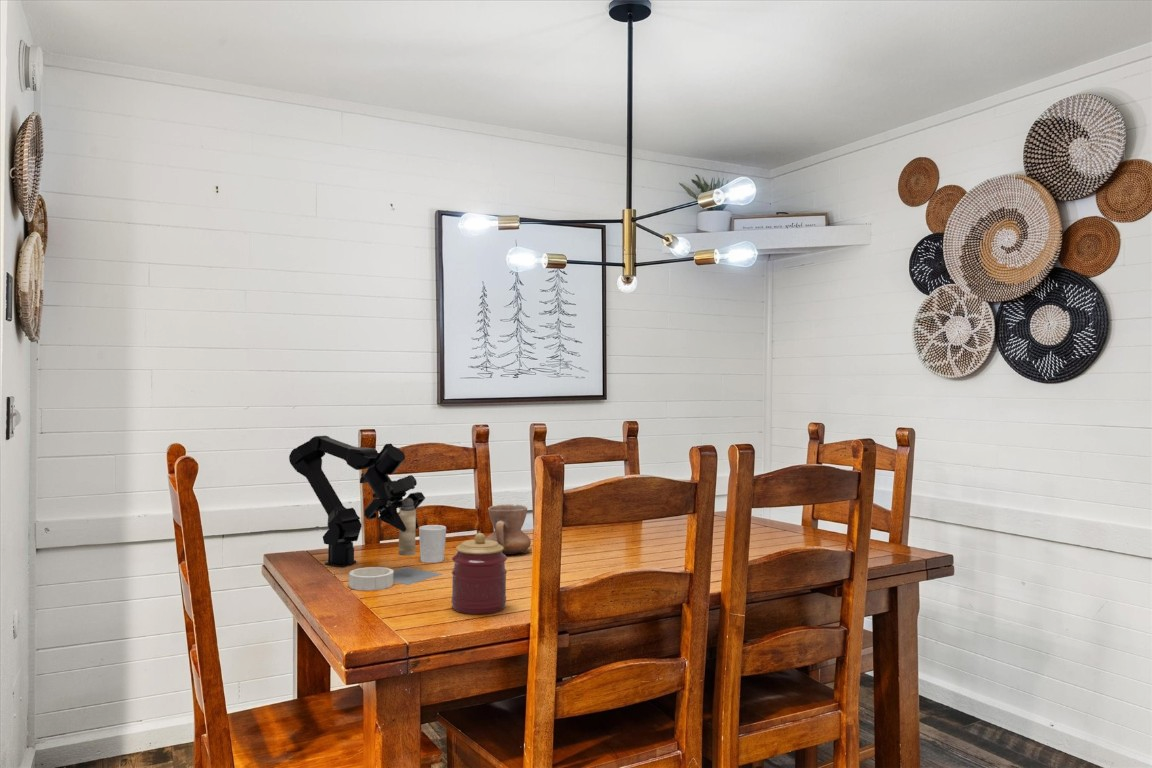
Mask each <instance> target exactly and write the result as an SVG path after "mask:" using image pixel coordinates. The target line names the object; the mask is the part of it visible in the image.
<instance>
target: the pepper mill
mask: <svg viewBox="0 0 1152 768" xmlns="http://www.w3.org/2000/svg"><path fill="white" fill-rule="evenodd" d="M403 499H404V500H403V501H402V505H403V506H401V509H399V511H398V515H399V516H400V518H401V520H402V522H403V523H404V525H405V527H406V531H405V532H403V531H401V530H399V529H398V555H399V556H406V557H407V556H408V557H409V556H415V555H416V530H417V529H416V518H417V509H414V506H413V500H412V499H411V498H407V497H405V498H403Z"/></svg>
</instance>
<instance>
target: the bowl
mask: <svg viewBox="0 0 1152 768" xmlns="http://www.w3.org/2000/svg"><path fill="white" fill-rule="evenodd" d="M394 570H395V569H391V568H389V567H382V566H367V567H359V568H355V569H352V570H350V571H349V572H348V586H349V589H352V590H356V591H367V592H368V591H379V590H386V589H389V588H391V587H392V586H393V585H394V582H393V576H394Z"/></svg>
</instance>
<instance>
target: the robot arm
mask: <svg viewBox="0 0 1152 768" xmlns="http://www.w3.org/2000/svg"><path fill="white" fill-rule="evenodd" d="M326 454H328V455H330V456H333V457H336V458H338V459H342V460H343V461H345V462H346V464H347V465H348V466H349V467H350V468H352V469H354V470H356V471H360V470H366V471H365V472H363V473H361V474H360V476H361V477H360V479H359V483H360V484H368V486H369V487H370V488H371V490H372V492H373V494H371V495H372V498H373V499H372V500H371V501H370V502H369V504H367V506H366V507H365V509H364V512H363V513H364V516H365V518H366V519H367V521H369V520H370V521H371V520H375V519H376V518H377V512H378V513H379V516H378V518H377V520H378V521H381V522H384V523H386V524H388V525H390V526H391V527H394V528H395V529H398V531H399V530H401V531H403V532H405V531H406V527H405V525H404V523H403V522H402V520H401V518H400V516H399V512H398V509H399V510H400V509H401V506H403V505H402V501H403V500H404V499H405V498H403V497H406V498H411V499H412V500H413V506H414V509H416V510H417V509H418V508H419V506H421V504H422V503H423V502H424V501H425V500H426V497H425V495H424V493H423V492H422V491H421V492H420V491H416V492H411V493H409V494H408V493H407V492H408V491H411V490H414V489H415V488H416V486H417V485H418V484H417V479H416V478H415V476H413V474H411V475H407V476H405V477H402V478H399V479H397V480H392V479H391V477H390V476H389V475H392V474H394V473H395V472H396V471H397V469H398V468H399V467H400V466H401V464H402V463H404V461H405V459H406V455H405V452H404V451H403V450H401V449H400V448H399V447H396V446H394V445H393V444H392V443H385V444H384V446H383V447H382V449H381V450H380V452H378V450H377V449H376V448H373V447H365V446H364V447H363V446H362V447H361V446H354V445H350V444H348V443H346V442H342V441H339V440H338V439H335V438H331V437H330V436H328V435H316V436H313V437H311V438H310V439H309V440H308V441H306V442H304V443H303V444H300V445H299V446H297V447H295V448H293V449H292V450H291V452H290V453H289V456H288V459H289V464H290V465H291V466H292V468H293V469H294V471H295V472H297V473H298V474H300V475H301V476H303V477H305V478H306V480H307V481H308V483H309V484H310V487H311V488H312V490H313V492H314V493H315V495H316V496H317V499H318V500H319V502H320V505H322V508H323V509H324V511H325V513H326V514H327V527H328V530H327V531H326V532H325V533H324V534H323V535H322V539H323V544H325V545H328V548H327V549H328V551H327V553H328V554H327V555H328V556H327V557H328V558H327V561H326V562H325V563H324V565H325V566H334V567H335V566H336V567H345V566H350V565H352V564H355V563H357V560H355V547H354V542H357V541H358V539H359V535H360V533H361V530H362V523H361V517H360V516H358V514H357V512H356V509H355V508H354V507H349V508H347V507H345V506H344V505H343V503H342V501H341V500H340V498H339V496H338V495H337V493H336V490H335V489H334V488H333V486H332V483H330V480H329V479H328V478H327V475H326V474H325V473H324V471H323V457H324V456H325V455H326ZM407 494H408V496H407ZM418 529H419V524H418V519H417V517H416V530H418Z"/></svg>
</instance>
